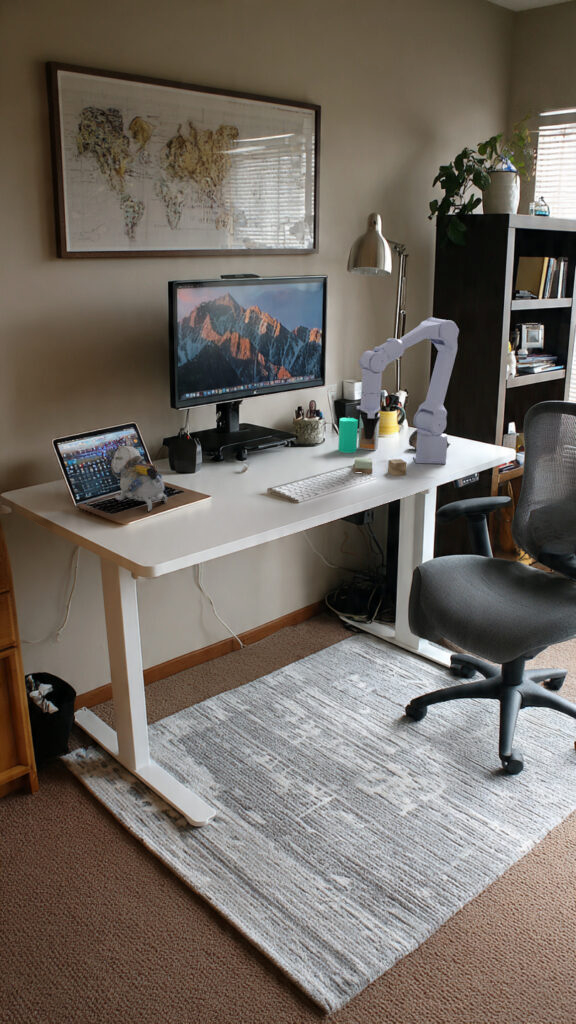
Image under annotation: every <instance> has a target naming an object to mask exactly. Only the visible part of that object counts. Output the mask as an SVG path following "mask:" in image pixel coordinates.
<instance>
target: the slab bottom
mask: <svg viewBox="0 0 576 1024" xmlns="http://www.w3.org/2000/svg"><path fill="white" fill-rule="evenodd" d="M352 467H353V468H352V469H353V473H354V472H362V473H361V474H366V473H367V474H371V475H372V474H373V468H372V469H365V468H355V464H354V463H353V464H352Z"/></svg>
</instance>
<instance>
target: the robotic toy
mask: <svg viewBox="0 0 576 1024" xmlns="http://www.w3.org/2000/svg"><path fill="white" fill-rule="evenodd" d="M107 455H108V456H110V459H111V460H110V461H111V462H110V467H111V472H112V475H113V476H115V477H116V478H118V479H120V482H119V488H120V489H121V492H120V495H119V494H116V495H115V496H114V498H115V499H116V500H118V501H124V500H125V499H127V498H128V499H131V500H136V501H139V502H145V503H146V505H147V510H148V511H149V510H151V511H152V509H153V502H159V501H160V500H161V501H164V502H163V503H166V502H167V501H168V495H167V494H168V492H167V489H166V488H165V483H164V481H163V477H162V475H161V474H159V472H158V471H157V470H156V469H157V468H156V465H154V464H151V463H150V462H147V463H146V461H145V460H143V459H142V456H141V453H140V451H138V449H136V448H135V447H133V446H130V445H124V446H123V445H119V446H118V445H117V447H116V448H115V449H114V448H109V449H108V451H107ZM141 461H143V462H145V463H143V462H142V463H140V462H141ZM114 472H115V473H114ZM119 473H120V475H119ZM164 491H165V492H166V494H165V493H164ZM165 501H166V502H165Z"/></svg>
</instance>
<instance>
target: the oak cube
mask: <svg viewBox="0 0 576 1024" xmlns="http://www.w3.org/2000/svg"><path fill="white" fill-rule="evenodd" d="M407 463H408V462H407V461H405V460H403V459H401V458H395V459H388V467H387V473H388V474H390V475H391V476H393V477H400V476H406V475H407Z"/></svg>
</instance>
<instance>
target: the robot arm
mask: <svg viewBox="0 0 576 1024" xmlns="http://www.w3.org/2000/svg"><path fill="white" fill-rule="evenodd" d="M459 333H460V329H459V328H458V325H457V324H456V322H455V321H453V320H451V319H450V320H449V319H448V320H447V319H441V318H437V317H433V316H432V317H429V318H427V319H426V320H423V321H421V322H420V324H419V325H418V326H416V327H415V328H412V330H411V331H408V333H406V334H404V335H403V336H401V337H400V338H399V339H398V338H396V337H395V338H391V337H389V338H387V339H386V342H384V343H382V344H381V345H379V346H374V348H373V350H366V351H364V352H363V353H362V354H361V356H360V359H359V360H358V365H359V367H360V369H361V393H360V405H357V406H356V410H360V411H359V415H360V414H361V419H362V421H363V427H364V433H365V439H372V438H373V435H374V431H375V427H376V425H377V423H378V421H379V422H380V420H379V419H381V418H380V417H381V416H380V417H377V416H378V414H379V413H380V411H381V395H382V393H381V392H382V391H381V390H382V379H383V378H382V376H383V372H384V371H385V369H387V365H389V363H392V362H393V361H396V360H397V359H399V358H400V357H401V356H403V355H404V352H405V350H406V349H408V348H409V347H412V346H414V345H416V344H418V343H420V342H421V341H424V340H425V339H427V340H429V341H430V342H431V343H432V344H434V347H435V348H436V349H437V351H438V352H437V355H436V359H435V362H434V368H433V371H432V374H431V377H430V382H429V385H428V391H427V393H426V398H425V400H424V402H422V403H421V404H419V406H418V409H417V412H416V413H415V414H414V417H413V425H414V427H415V428H416V430H417V432H418V434H417V448H415V449H416V451H415V454H413V459H414V461H415V463H416V464H442V465H443V464H445V465H446V464H447V454H448V453H447V451H448V448H447V441H448V435H447V433H444V431H445V430H446V428H447V424H448V423H447V422H448V421H447V416H448V411H447V409H446V408H445V406H444V402H445V398H446V395H447V391H448V387H449V383H450V378H451V377H452V371H453V368H454V364H455V359H456V356H457V352H458V337H459Z"/></svg>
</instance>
